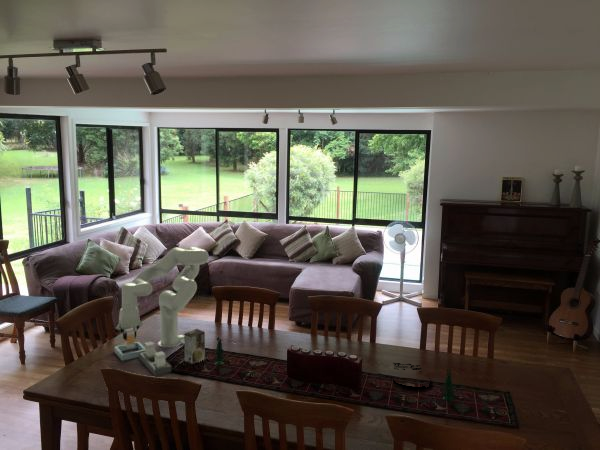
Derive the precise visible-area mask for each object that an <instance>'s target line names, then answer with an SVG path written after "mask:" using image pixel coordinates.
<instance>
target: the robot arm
mask: <svg viewBox="0 0 600 450" xmlns="http://www.w3.org/2000/svg"><path fill="white" fill-rule="evenodd" d="M209 258H210V256H209V253H208V251H207V250H206V249H204V248H200V247H196V246H189V247H188V248H187V249H186V248H185V249H184V248H181V247H176V246H175V247H173V248H171V249H170V250H169V251H168V252H167V253H166V254H165V255H164V256H163V257H162V258H161V259H160V260H159V261H157V263H155V264H154V265H151V266H150V267H147V268H146V269H144V270H142V271H141V272H140V273H139V274H137V276H135V277H134V279H133V280H132V281H131V282H125V283H123V284H122V285H121V308H120V309H119V315H118V324H117V325H116V327H115V329H116V330H118V331H120V332H121V333H122V339H123V340H124V342H125V341H126V340H127V333H126V329H130V328H132V329H133V330H134V331H135V340H136V338H137V332H138V330H139V329H140V328H141V327H142V326H143V321H141V320H140V319H141V318H140V312H139V311H140V310H139V307H138V306H140V302H138V298H137V297H147V296H149V295H151V294H152V292H153V290H154V289H153V285H152V284H151V283H150V282H151V281H152V280H153V279H156V278H159V277H161V278H162V277H165V276H167V275H169V274H170V272H172V271H173V270H174V269H175V268H176V267H177V266H178V265H182V266H184V268H183V269H182V270H181V271H180V272H179V274H178V275H177V276H176V277H175V279H174V280H173V282H172V288H173V289H174V291H172V290H169V289H168V290H164V291H162V292H161V293H160V294H159V296H158V305H159V312H160V340H159V341H158V342H157V345H158V346H159V347H161V348H173V347H177V346H180V345H181V343H182V342H181V341H182V340H184V335H182V334H179V324H178V323H179V313H178V312H181V311H182V310H183V309H185V307H186V306H187V305H188V303H189V302H190V301H191V300H192V298H193V296H194V295H195V294H196V292H197V291H198V290H197V289H198V285H197V282H196V280H195V278H196V277H197V276H198V275H199V272H200V266H201V265H204V264H205V263H207V262H208V261H209Z"/></svg>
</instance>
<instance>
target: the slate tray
mask: <svg viewBox="0 0 600 450" xmlns="http://www.w3.org/2000/svg"><path fill="white" fill-rule="evenodd" d="M134 349H138V350H136V351H131V352H126V353H123V352H124V351H130V350H134ZM142 352H145V345H143V344H142V343H141V342H140V341H135V347H131V348H127V347H126V346H125V344H121V345H115V346H114V353H115V354H116V356H117V357H118V358H119V359H120V360H121V361H128V360H131V359H136V358H139V353H142Z"/></svg>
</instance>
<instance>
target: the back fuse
mask: <svg viewBox="0 0 600 450" xmlns="http://www.w3.org/2000/svg"><path fill="white" fill-rule="evenodd" d="M144 347H145V356H146V357H150V356H154V355H155V351H156V346H155V343H154V342H153V341H148V342H144Z"/></svg>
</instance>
